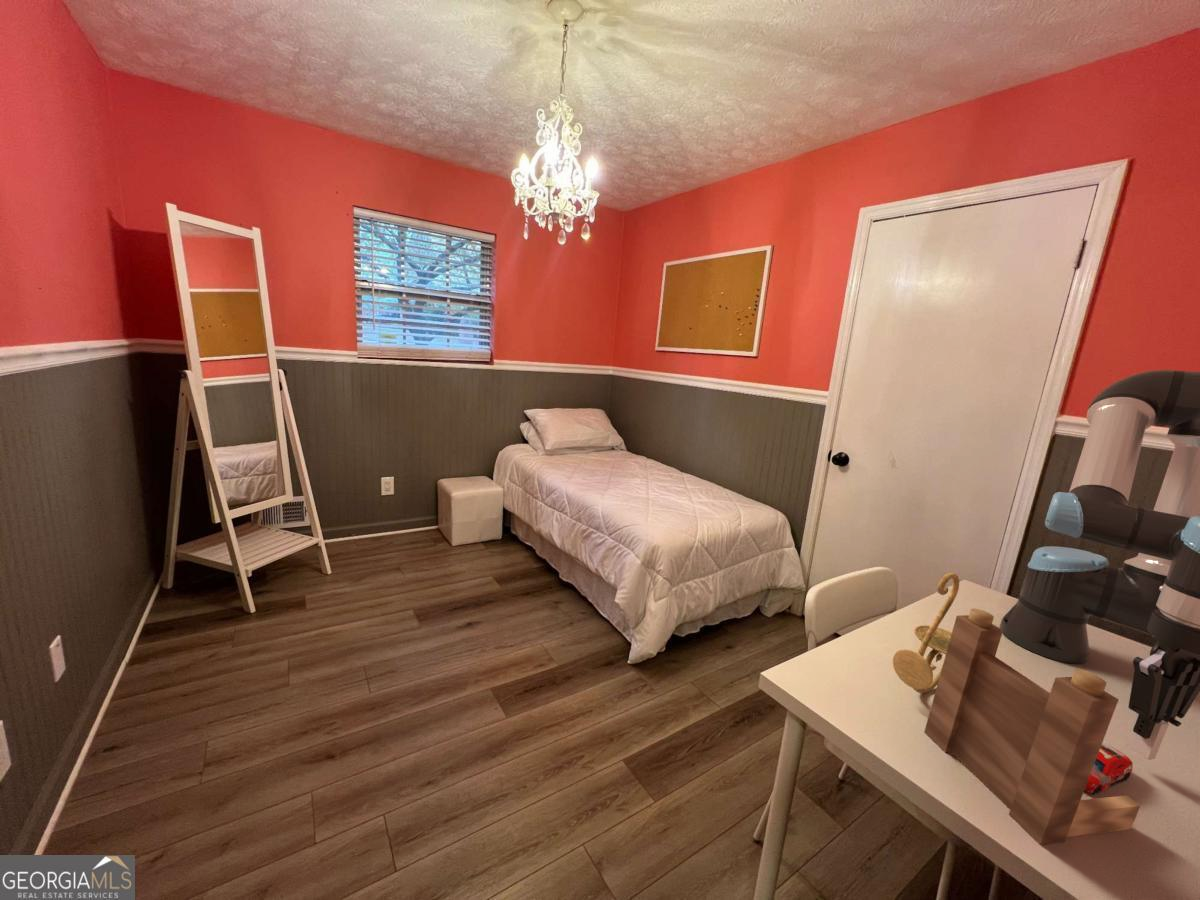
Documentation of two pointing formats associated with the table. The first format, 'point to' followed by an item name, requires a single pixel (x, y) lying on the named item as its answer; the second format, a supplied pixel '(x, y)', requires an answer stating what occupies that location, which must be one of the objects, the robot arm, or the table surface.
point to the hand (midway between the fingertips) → (1139, 751)
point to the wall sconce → (913, 664)
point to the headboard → (1025, 735)
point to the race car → (1108, 769)
